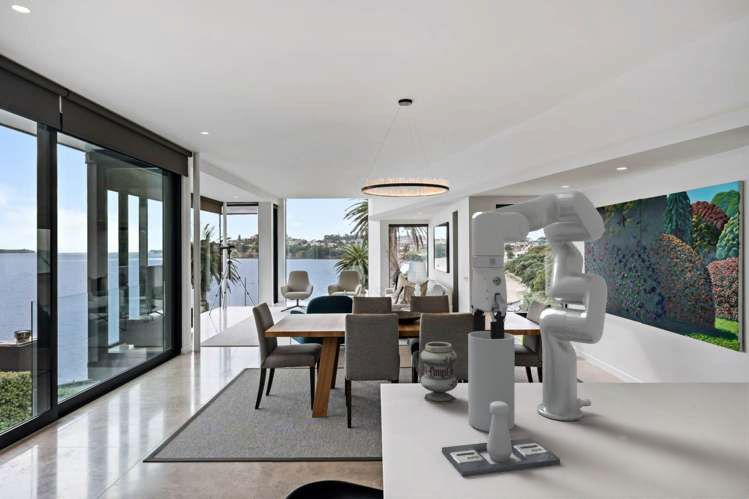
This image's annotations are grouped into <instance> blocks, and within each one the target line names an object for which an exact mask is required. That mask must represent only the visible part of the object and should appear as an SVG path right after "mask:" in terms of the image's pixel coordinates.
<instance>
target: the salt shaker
mask: <svg viewBox="0 0 749 499" xmlns="http://www.w3.org/2000/svg"><path fill="white" fill-rule="evenodd" d="M490 412H491V413H492V414H493V415H492V421H491V427H490V432H488V438H487V442H486V443H487V450H486V451H487V453H488V455H489V458H490V459H491V460H492V461H494V462H496V463H505V462H509V460H510V458H511V456H512V454H513V453H512V445H511V440H512V439H511V435H510V430H509V428H508V422H507V417H506V415H507V414H508V413H509V407H508V405H507V404H506V403H504V402H500V401H495V402H492V403H491V404H490Z"/></svg>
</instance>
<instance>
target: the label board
mask: <svg viewBox="0 0 749 499" xmlns="http://www.w3.org/2000/svg"><path fill="white" fill-rule="evenodd" d="M510 440H511V445H512V453H511V454H513V455H514V456H516V457H517V458H518V459H519V460H515V461H506V462H496V463H491V462H489V461H488V459H486V457H485V456H483V455H482V454H481V453H480V452H484V451H487V442H480V443H479V442H478V443H470V444H462V445H453V446H452V445H451V446H444V447H443V446H442V447H441V454H442V455H444V457H445V458H446V459H447V460H448V461H449V463H450V464H451V465H452V467H454V469H456V471H457V472H458V474H460V476H461V477H462V478H463V477H473V476H481V475H487V474H489V475H490V474H495V473H502V472H503V473H504V472H511V471H520V470H529V469H535V468H536V469H537V468H541V467H542V468H543V467H549V466H559V465H561V458H560V457H558V456H556V455H555V454H554V453H552V452H551V451H549V450H548V449H547V448H546V447H544V446H542V445H541V444H540V443H539V442H538V441H536V440H534V439H533V438H531V437H525V438H517V439H515V438H513V439H510Z"/></svg>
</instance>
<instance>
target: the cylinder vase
mask: <svg viewBox="0 0 749 499" xmlns="http://www.w3.org/2000/svg"><path fill="white" fill-rule="evenodd" d="M467 337H468V338H467V339H468V340H467V342H468V343H467V346H468V350H467V351H468V352H467V356H468V357H467V358H468V362H467V363H468V364H467V366H468V367H467V369H468V374H467V375H468V376H467V378H468V383H467V384H468V386H467V388H468V389H467V390H468V392H467V393H468V395H467V397H468V399H467V403H468V404H467V405H468V408H467V410H468V412H467V413H468V414H467V415H468V423H469V424H470V426H471V427H473V428H475V429H477V430H479V431H483V432H487V433H489V432H490V427H491V421H492V415H493V414H492V413H491V412H490V404H491V403H492V402H495V401H500V402H504V403H506V404H507V405H508V407H509V413H508V414H507V415H506V417H507V422H508V428H509V431H510V430H513V429H514V427H515V425H516V424H515V423H516V422H515V419H516V418H515V406H516V404H515V402H516V401H515V398H516V397H515V396H516V394H515V393H516V392H515V386H516V385H515V382H516V381H515V369H516V368H515V356H516V355H515V343H516V342H515V335H513V334H512V333H509V332H508V333H507V332H504V339H491V338H490V330H489V331H488V330H485V331H479V332H474V331H472V332H470V333H468V336H467Z"/></svg>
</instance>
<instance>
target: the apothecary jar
mask: <svg viewBox="0 0 749 499" xmlns="http://www.w3.org/2000/svg"><path fill="white" fill-rule="evenodd" d="M420 358H421V361H423V362H424V364H423V365H424V373H423V374H424V375H422V376H421V379H420V384H421V386H422V387H423V388H424V389H425V390H428V391H429V392H428V393H426V394H425V395H424V397H423V398H424V400H425V401H427V402H429V403H433V404H441V405H443V404H449V403H452V402H453V401H455V397H454V395H452V394H451V393H449V392H450V391H453V390H454V389H456V387H457V386H458V382H459V381H458V378H457V376H456V375H454V372H455V371H454V362H456V361H457V358H458V355H457V353H456V351H455V350H454V349H453V346H452V343H450V342H445V341H444V342H443V341H430V342H427V343H426V344H425V348H424V350H422V351H421V353H420Z"/></svg>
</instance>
